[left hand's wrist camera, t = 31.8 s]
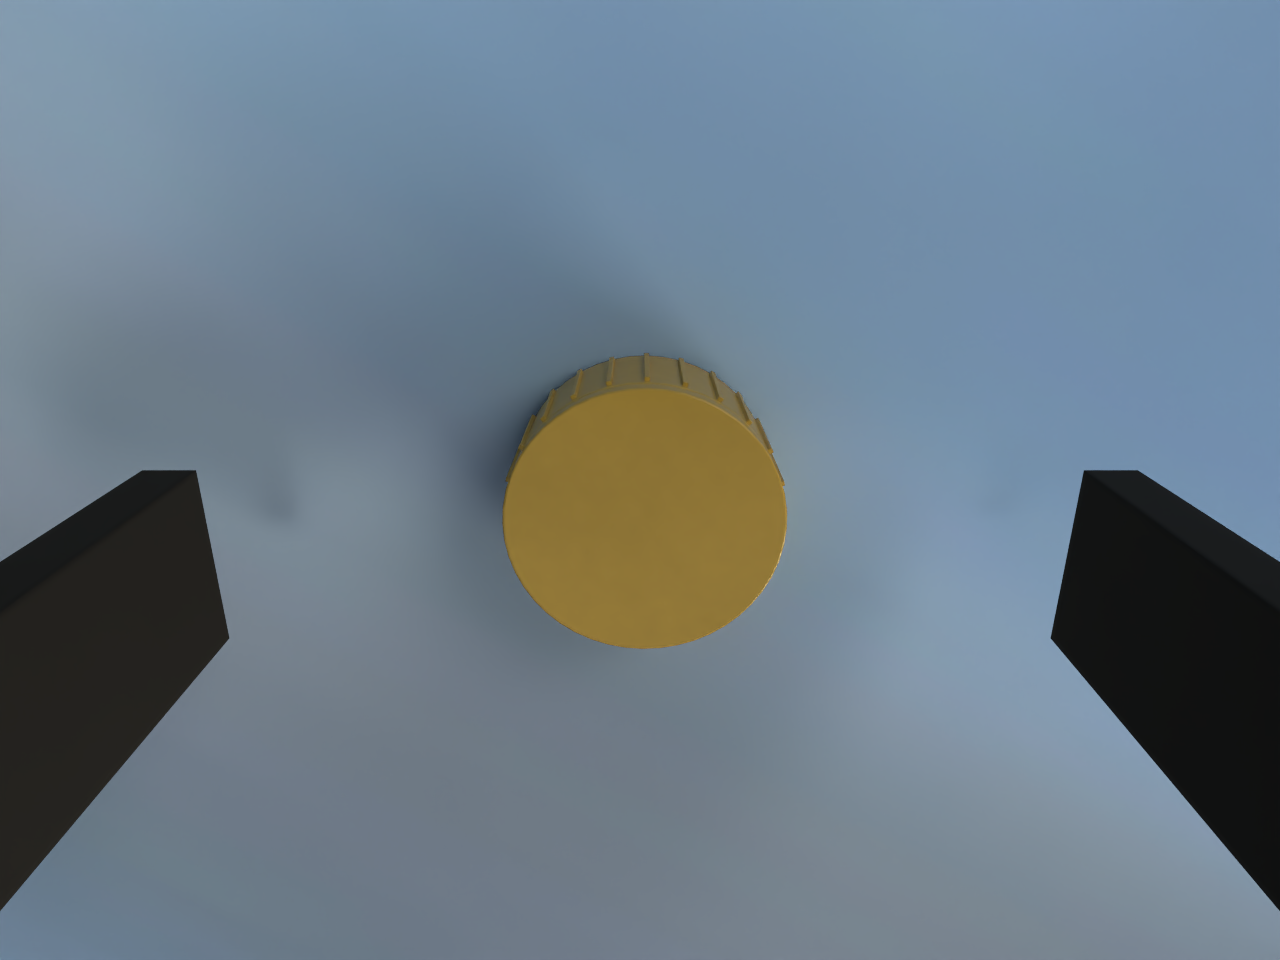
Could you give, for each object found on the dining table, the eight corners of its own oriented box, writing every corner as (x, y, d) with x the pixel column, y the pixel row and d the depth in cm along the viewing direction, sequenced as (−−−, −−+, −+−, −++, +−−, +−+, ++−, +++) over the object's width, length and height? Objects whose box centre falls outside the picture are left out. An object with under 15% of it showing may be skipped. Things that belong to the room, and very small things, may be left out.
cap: (662, 630, 17) (665, 698, 15) (468, 495, 16) (442, 547, 14) (822, 457, 15) (851, 505, 13) (622, 297, 14) (619, 322, 12)
